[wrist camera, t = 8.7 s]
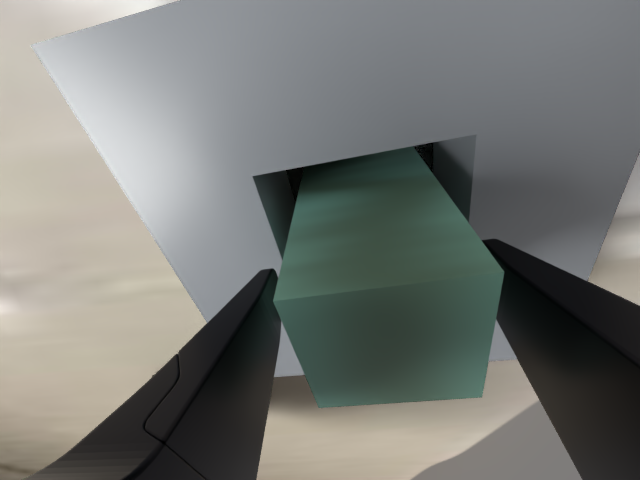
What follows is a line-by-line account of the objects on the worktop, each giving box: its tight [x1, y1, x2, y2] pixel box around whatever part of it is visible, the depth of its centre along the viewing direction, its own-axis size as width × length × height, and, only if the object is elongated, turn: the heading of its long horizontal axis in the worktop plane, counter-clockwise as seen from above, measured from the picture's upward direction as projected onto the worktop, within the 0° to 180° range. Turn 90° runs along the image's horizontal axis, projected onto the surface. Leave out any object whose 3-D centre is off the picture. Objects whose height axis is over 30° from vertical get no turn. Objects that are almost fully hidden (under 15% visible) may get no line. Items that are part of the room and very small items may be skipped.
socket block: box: [31, 0, 640, 377], centre depth 11 cm, size 14×14×4 cm
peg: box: [273, 146, 504, 408], centre depth 10 cm, size 4×4×8 cm
